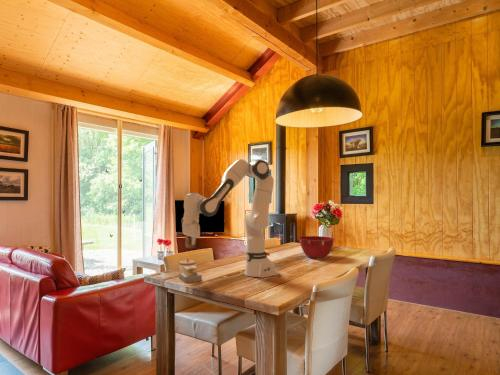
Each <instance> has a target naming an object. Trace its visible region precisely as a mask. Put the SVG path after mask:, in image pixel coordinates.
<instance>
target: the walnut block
mask: <svg viewBox="0 0 500 375" xmlns="http://www.w3.org/2000/svg"><path fill="white" fill-rule="evenodd" d="M184 238H185V239H184V246H185V248H187V249H196V248H197V239H196V240H195V244H194V245H192V244H191V241H192V239H191V237H186V236H185V237H184Z"/></svg>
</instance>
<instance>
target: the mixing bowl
mask: <svg viewBox="0 0 500 375" xmlns="http://www.w3.org/2000/svg"><path fill="white" fill-rule="evenodd" d="M298 240H299V243H300V244H299V245H300V246H301V250H302V252H303V254H304V255H305V256H306V257H308V258H309V259H310V258H311V259H325V258H326V257H328V255H329V254H330V253H331V250H332V248H333V245H334V241H335V238H334V237H329V236H318V235H307V236H299V237H298Z"/></svg>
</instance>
